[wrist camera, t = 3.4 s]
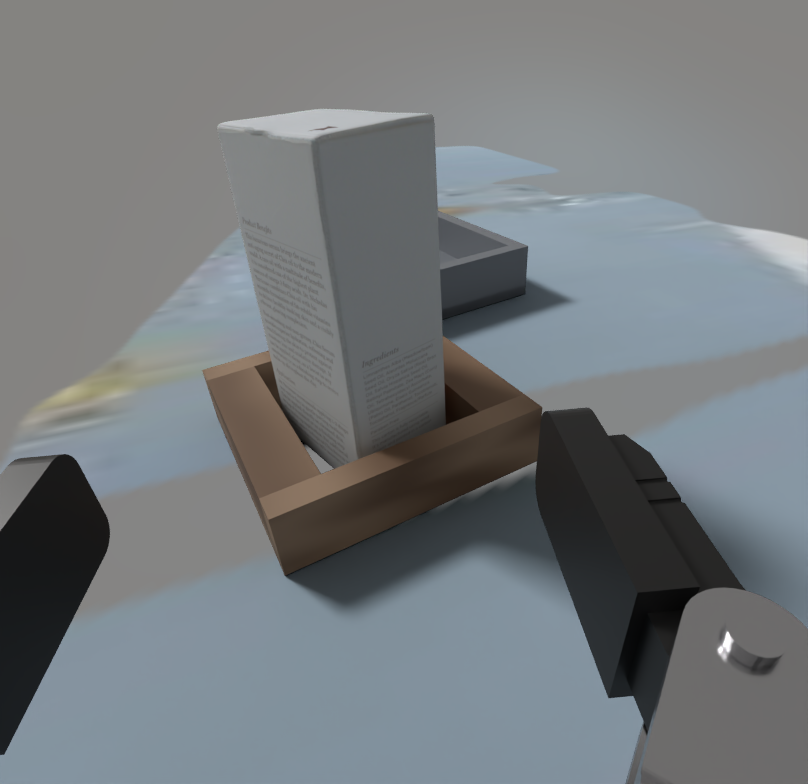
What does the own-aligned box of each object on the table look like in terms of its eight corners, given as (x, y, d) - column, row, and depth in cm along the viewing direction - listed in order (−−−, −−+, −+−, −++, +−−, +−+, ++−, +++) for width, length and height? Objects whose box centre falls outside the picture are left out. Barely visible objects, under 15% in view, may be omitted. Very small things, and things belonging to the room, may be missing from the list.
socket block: (410, 353, 28) (407, 309, 26) (537, 460, 20) (542, 407, 19) (217, 417, 24) (202, 369, 23) (285, 575, 17) (268, 519, 15)
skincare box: (451, 448, 21) (442, 111, 15) (365, 501, 19) (310, 135, 13) (362, 389, 25) (323, 104, 19) (282, 428, 23) (208, 122, 17)
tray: (420, 241, 43) (419, 203, 41) (525, 293, 33) (528, 246, 32) (289, 273, 39) (281, 232, 37) (364, 343, 29) (357, 291, 28)
